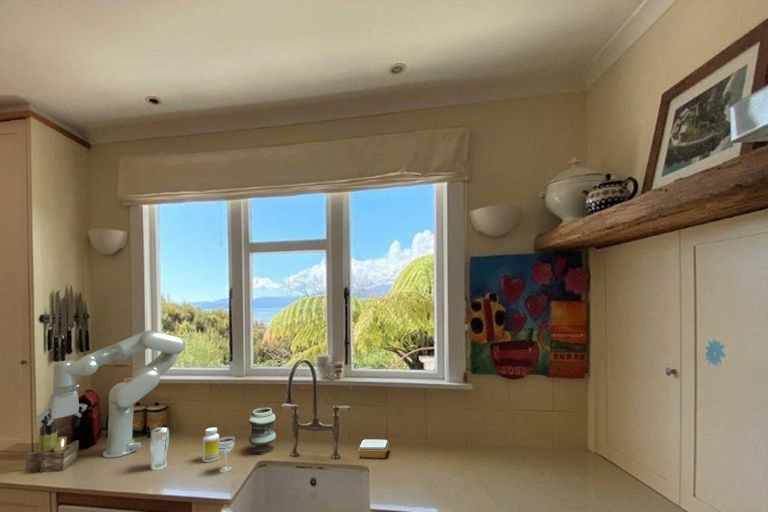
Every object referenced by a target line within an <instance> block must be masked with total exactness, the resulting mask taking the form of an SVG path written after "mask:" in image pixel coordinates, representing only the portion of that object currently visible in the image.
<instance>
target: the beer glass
mask: <svg viewBox="0 0 768 512" xmlns="http://www.w3.org/2000/svg"><path fill="white" fill-rule="evenodd" d="M169 442H170V429H169V427H167V426H166V427H157V428H154V429H152V430H151V432H150V439H149V447H150V454H151V464H150V468H149V469H150V470H152V471H157V470H161V469H164V468H166V467H167V466H168V462H167V453H168V448H169V445H170V444H169Z"/></svg>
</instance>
